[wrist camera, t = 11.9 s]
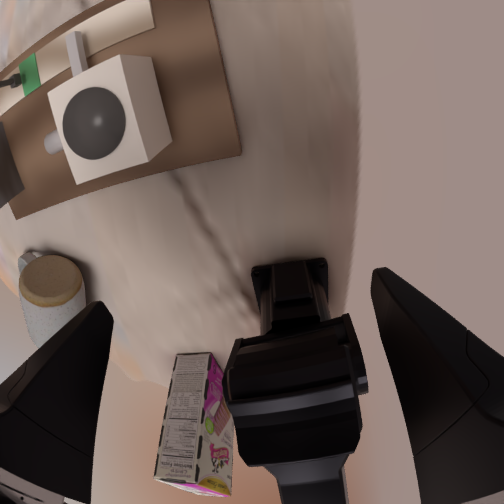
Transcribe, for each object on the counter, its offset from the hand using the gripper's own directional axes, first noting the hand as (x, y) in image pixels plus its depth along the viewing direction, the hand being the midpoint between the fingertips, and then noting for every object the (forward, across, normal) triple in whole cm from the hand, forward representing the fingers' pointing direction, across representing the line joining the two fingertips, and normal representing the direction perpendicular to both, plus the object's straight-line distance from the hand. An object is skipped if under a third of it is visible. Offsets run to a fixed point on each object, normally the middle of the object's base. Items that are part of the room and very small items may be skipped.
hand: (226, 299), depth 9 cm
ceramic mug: (+13, +23, +7) cm, 27 cm away
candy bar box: (+13, +10, +26) cm, 31 cm away
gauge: (+12, +8, -8) cm, 16 cm away
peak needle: (+11, +15, -12) cm, 22 cm away
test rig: (+13, +12, -8) cm, 19 cm away
